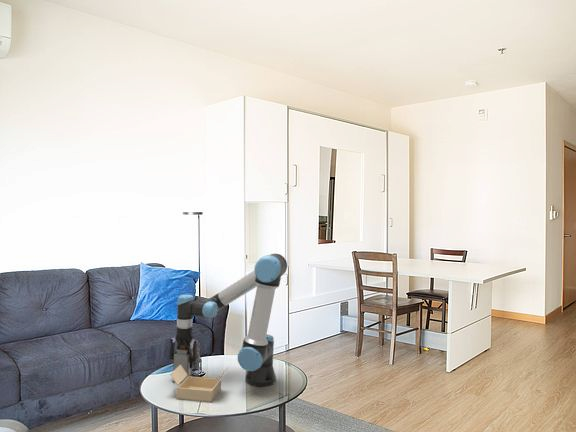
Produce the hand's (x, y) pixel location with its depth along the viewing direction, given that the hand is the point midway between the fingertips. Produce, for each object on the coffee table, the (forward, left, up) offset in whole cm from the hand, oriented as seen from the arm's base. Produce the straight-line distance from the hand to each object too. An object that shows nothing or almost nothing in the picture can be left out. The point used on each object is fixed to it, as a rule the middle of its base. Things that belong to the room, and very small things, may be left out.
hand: (182, 374), depth 231 cm
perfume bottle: (0, 0, -4) cm, 4 cm away
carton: (-13, +14, -3) cm, 19 cm away
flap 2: (-22, +14, +5) cm, 27 cm away
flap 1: (-3, +14, +5) cm, 15 cm away
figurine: (+3, -17, -4) cm, 18 cm away
